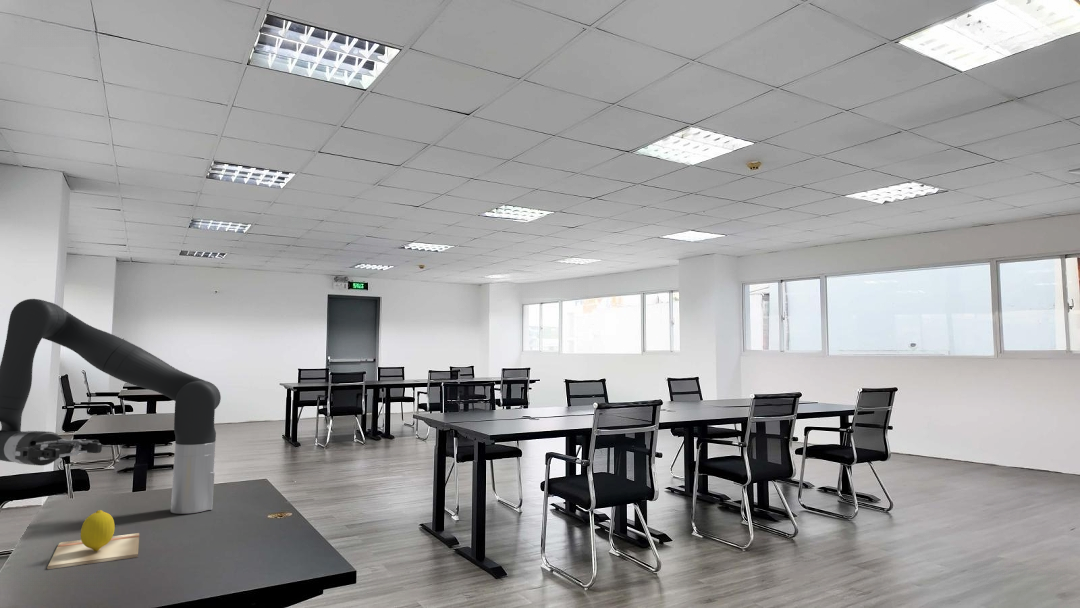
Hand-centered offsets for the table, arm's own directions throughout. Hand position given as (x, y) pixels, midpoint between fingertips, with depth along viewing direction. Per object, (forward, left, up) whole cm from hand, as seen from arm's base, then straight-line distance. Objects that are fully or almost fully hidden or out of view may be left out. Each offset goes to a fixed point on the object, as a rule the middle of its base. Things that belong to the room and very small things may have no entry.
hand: (79, 450), depth 133 cm
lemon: (-5, +15, -18) cm, 24 cm away
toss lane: (-5, +13, -19) cm, 23 cm away
